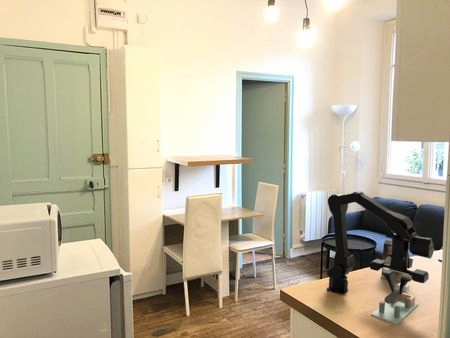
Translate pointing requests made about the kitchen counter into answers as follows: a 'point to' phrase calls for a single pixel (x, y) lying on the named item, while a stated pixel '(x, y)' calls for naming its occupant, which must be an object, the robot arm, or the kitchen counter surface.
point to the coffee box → (387, 258)
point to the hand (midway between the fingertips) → (396, 293)
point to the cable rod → (395, 294)
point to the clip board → (396, 308)
